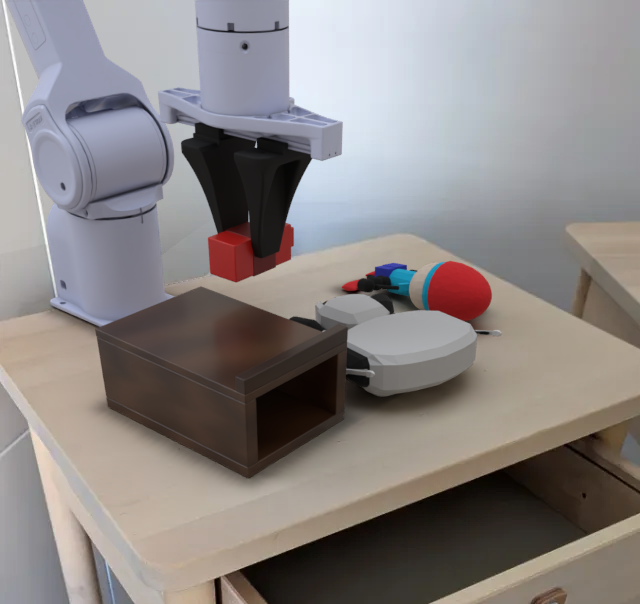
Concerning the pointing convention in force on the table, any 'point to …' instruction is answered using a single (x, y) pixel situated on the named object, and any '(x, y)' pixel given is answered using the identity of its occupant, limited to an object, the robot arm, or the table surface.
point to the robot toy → (397, 343)
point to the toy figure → (432, 287)
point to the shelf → (225, 377)
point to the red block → (244, 253)
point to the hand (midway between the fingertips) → (250, 248)
